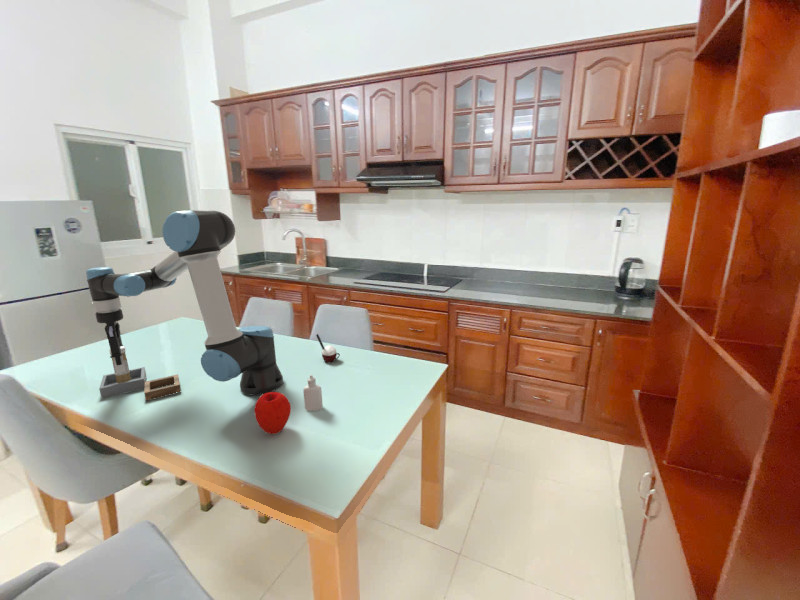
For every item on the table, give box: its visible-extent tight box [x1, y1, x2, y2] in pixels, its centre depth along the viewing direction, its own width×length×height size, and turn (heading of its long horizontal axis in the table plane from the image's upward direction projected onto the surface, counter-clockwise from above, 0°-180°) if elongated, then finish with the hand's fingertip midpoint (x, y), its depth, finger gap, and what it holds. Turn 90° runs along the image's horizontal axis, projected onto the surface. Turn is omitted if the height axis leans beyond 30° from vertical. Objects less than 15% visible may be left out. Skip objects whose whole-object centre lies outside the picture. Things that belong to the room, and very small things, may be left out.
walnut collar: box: [143, 374, 182, 401], centre depth 131 cm, size 11×11×3 cm
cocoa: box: [316, 333, 340, 363], centre depth 154 cm, size 10×6×12 cm, turn 64°
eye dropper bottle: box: [302, 374, 324, 412], centre depth 116 cm, size 4×6×12 cm
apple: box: [253, 391, 292, 435], centre depth 104 cm, size 10×10×12 cm
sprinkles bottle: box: [108, 345, 131, 383], centre depth 133 cm, size 5×5×14 cm
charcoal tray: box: [99, 366, 147, 399], centre depth 135 cm, size 13×13×4 cm
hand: (121, 369), depth 133 cm, fingers closed on sprinkles bottle, 4 cm apart
